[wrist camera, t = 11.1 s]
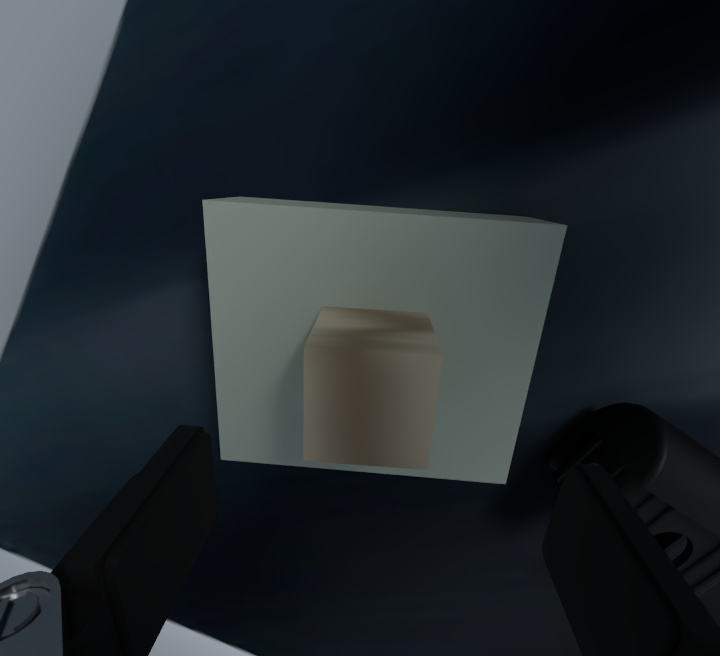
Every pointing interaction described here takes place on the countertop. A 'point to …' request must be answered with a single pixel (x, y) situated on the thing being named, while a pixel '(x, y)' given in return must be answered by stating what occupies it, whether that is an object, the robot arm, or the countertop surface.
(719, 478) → the end cap
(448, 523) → the countertop surface
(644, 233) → the countertop surface
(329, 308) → the maple cube
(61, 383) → the countertop surface
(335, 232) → the sage stand
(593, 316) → the countertop surface
